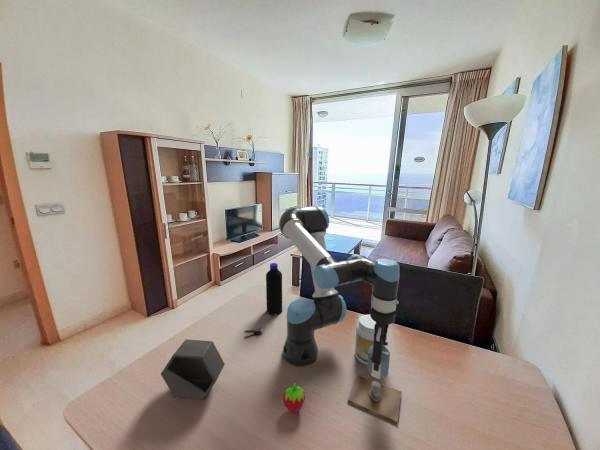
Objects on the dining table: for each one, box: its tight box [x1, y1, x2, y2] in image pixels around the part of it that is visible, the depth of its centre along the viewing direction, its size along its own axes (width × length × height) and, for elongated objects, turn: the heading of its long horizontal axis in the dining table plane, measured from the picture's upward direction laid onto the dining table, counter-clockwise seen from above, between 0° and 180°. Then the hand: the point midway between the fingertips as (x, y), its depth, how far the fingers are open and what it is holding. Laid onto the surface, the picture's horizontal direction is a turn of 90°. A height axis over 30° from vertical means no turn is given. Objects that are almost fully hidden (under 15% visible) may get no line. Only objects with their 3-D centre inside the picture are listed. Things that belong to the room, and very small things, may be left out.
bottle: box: [265, 262, 283, 316], centre depth 134 cm, size 9×9×28 cm
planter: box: [160, 339, 225, 401], centre depth 85 cm, size 17×8×21 cm
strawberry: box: [282, 382, 306, 413], centre depth 79 cm, size 6×7×10 cm
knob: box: [366, 345, 391, 379], centre depth 81 cm, size 7×7×7 cm
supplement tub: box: [354, 314, 386, 366], centre depth 102 cm, size 12×12×17 cm
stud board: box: [347, 374, 402, 425], centre depth 84 cm, size 16×12×6 cm
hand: (377, 368), depth 82 cm, fingers closed on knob, 7 cm apart
